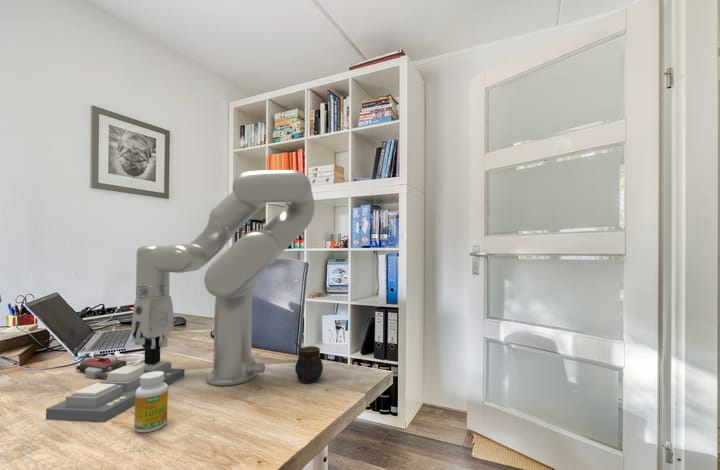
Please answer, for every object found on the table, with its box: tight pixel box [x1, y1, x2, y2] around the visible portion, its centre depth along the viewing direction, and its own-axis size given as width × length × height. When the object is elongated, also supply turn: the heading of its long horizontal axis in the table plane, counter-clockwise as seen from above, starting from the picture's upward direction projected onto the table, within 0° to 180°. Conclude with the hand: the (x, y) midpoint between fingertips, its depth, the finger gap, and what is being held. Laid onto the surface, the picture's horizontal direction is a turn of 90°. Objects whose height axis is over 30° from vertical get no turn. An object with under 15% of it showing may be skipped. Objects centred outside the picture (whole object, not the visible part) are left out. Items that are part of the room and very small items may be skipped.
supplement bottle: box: [133, 371, 169, 433], centre depth 65 cm, size 5×5×10 cm
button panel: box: [45, 361, 186, 423], centre depth 79 cm, size 13×25×4 cm, turn 173°
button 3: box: [73, 382, 116, 397], centre depth 72 cm, size 5×5×2 cm
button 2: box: [106, 365, 144, 382], centre depth 80 cm, size 5×5×2 cm
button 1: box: [137, 360, 167, 370], centre depth 87 cm, size 5×5×2 cm
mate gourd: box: [293, 341, 324, 384], centre depth 88 cm, size 7×8×10 cm
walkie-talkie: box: [75, 354, 127, 380], centre depth 94 cm, size 9×4×20 cm
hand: (152, 362), depth 88 cm, fingers closed
